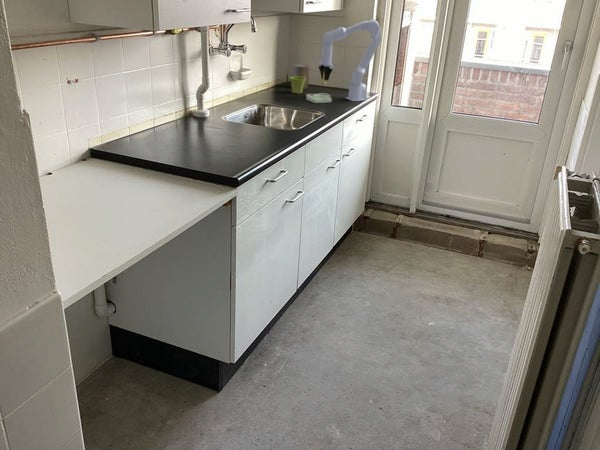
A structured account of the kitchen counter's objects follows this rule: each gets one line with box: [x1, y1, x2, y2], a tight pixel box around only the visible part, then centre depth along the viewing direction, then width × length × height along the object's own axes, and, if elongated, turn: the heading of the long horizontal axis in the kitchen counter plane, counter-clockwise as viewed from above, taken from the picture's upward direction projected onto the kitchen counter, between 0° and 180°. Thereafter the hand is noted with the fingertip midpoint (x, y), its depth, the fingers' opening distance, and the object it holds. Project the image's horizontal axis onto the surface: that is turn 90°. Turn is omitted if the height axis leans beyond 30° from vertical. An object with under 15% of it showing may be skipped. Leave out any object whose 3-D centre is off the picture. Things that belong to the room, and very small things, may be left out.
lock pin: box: [321, 71, 328, 85], centre depth 304 cm, size 3×3×7 cm
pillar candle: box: [292, 63, 310, 90], centre depth 327 cm, size 10×10×15 cm
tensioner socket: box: [316, 92, 332, 99], centre depth 309 cm, size 6×6×2 cm
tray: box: [305, 94, 333, 104], centre depth 298 cm, size 11×9×2 cm
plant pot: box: [289, 76, 306, 95], centre depth 314 cm, size 9×9×9 cm
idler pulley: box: [305, 93, 317, 96], centre depth 306 cm, size 7×7×2 cm
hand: (324, 79), depth 305 cm, fingers closed on lock pin, 3 cm apart
